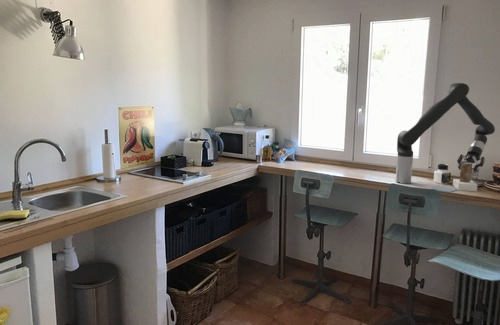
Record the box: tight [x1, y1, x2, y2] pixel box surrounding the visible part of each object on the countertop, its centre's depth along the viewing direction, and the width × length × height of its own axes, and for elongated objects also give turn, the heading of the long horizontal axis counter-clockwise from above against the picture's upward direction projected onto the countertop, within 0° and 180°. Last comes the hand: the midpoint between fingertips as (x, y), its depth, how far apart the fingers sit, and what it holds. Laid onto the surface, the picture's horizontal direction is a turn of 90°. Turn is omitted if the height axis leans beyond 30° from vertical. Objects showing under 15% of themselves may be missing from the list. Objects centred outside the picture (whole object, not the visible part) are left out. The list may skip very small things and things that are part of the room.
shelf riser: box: [452, 178, 478, 192], centre depth 242 cm, size 10×14×4 cm
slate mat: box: [430, 185, 459, 193], centre depth 239 cm, size 12×12×1 cm
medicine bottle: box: [433, 163, 452, 185], centre depth 257 cm, size 7×7×12 cm
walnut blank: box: [459, 163, 473, 183], centre depth 240 cm, size 4×4×11 cm
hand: (466, 169), depth 241 cm, fingers open, 8 cm apart
